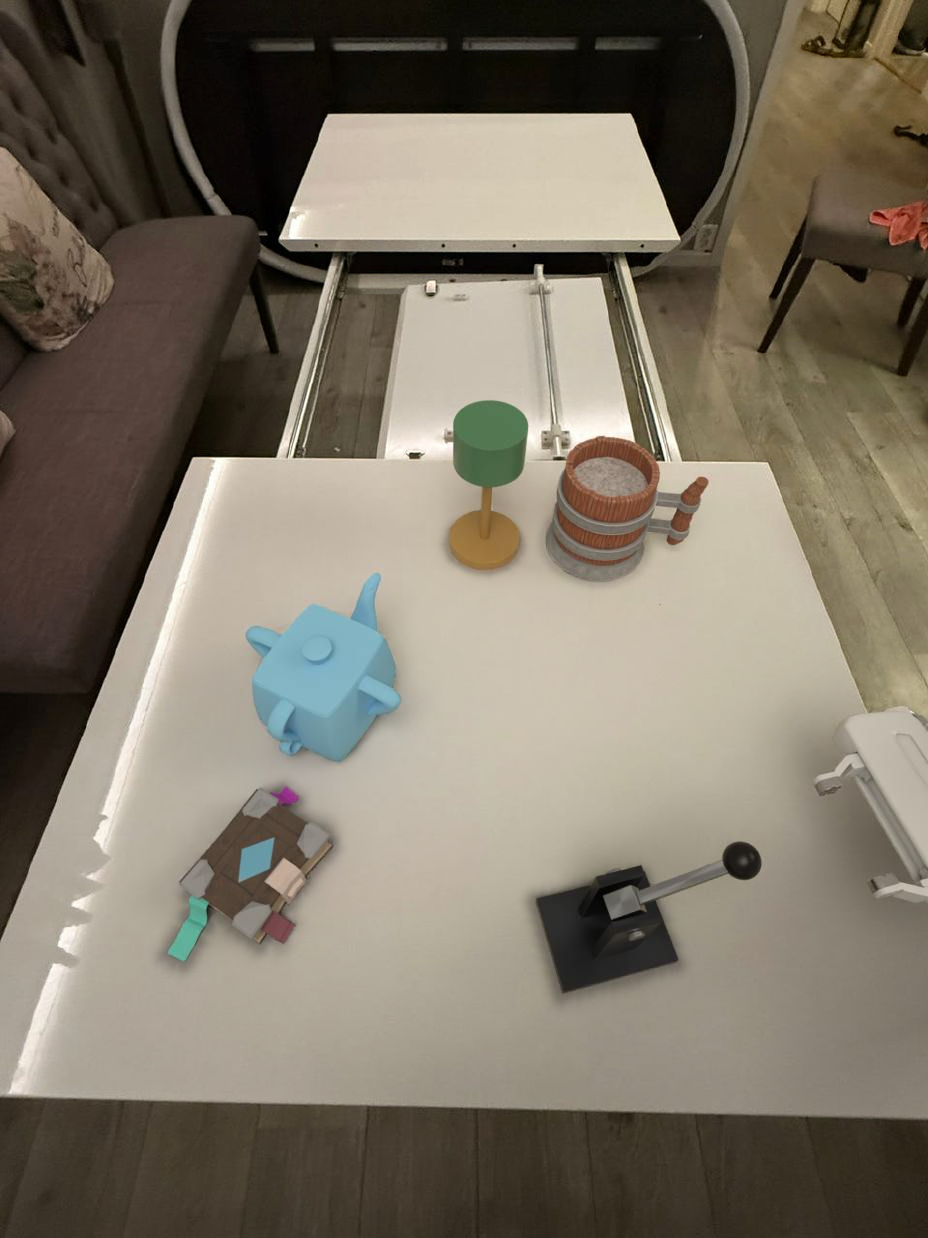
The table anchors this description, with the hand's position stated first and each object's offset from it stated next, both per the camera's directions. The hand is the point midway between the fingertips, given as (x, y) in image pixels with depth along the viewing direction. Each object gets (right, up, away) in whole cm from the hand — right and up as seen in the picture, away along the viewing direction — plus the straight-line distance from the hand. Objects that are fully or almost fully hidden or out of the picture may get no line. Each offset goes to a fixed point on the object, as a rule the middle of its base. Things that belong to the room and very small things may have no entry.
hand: (844, 835), depth 65 cm
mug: (-12, +29, +40) cm, 51 cm away
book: (-55, -9, +13) cm, 57 cm away
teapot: (-49, +9, +26) cm, 56 cm away
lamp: (-31, +30, +40) cm, 59 cm away
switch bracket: (-19, -13, +10) cm, 25 cm away
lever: (-14, -5, +1) cm, 15 cm away
